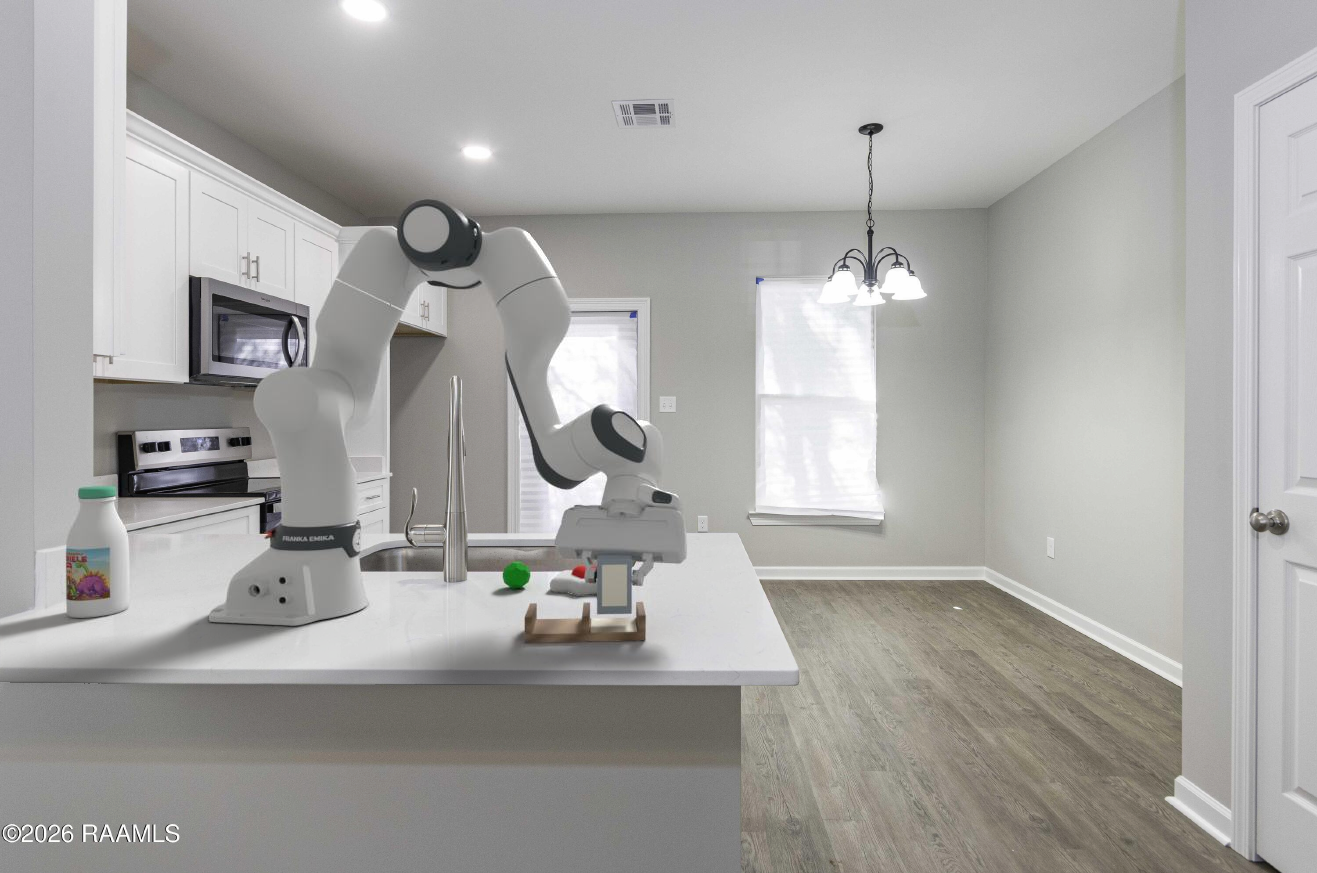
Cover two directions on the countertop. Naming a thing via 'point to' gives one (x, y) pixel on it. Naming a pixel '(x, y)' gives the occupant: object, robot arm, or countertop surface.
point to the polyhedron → (516, 575)
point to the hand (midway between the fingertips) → (613, 582)
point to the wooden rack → (584, 627)
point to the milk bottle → (97, 557)
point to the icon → (573, 582)
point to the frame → (614, 584)
